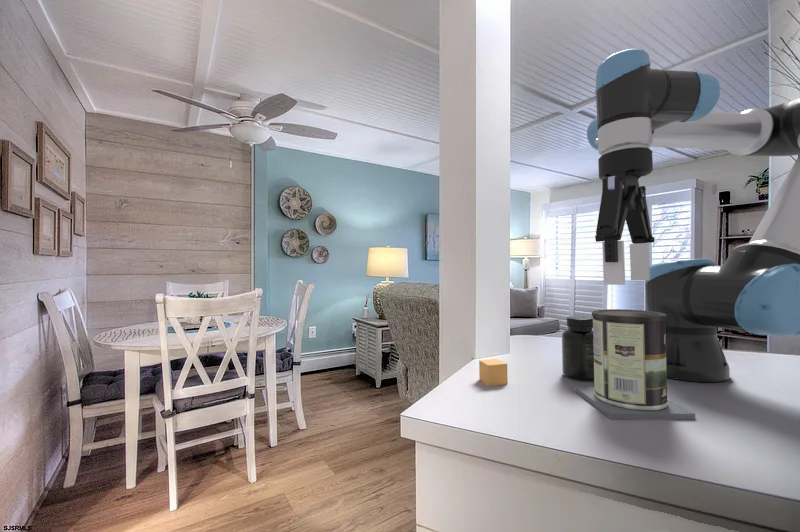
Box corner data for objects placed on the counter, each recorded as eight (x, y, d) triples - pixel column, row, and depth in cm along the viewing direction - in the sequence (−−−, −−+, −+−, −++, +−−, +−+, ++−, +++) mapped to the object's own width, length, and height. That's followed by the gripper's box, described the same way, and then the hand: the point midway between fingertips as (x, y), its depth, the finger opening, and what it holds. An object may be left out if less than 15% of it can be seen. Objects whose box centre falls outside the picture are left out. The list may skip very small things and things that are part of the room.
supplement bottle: (597, 373, 76) (596, 316, 76) (602, 383, 70) (600, 320, 70) (562, 370, 79) (561, 315, 79) (563, 379, 73) (561, 319, 73)
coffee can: (649, 390, 63) (647, 308, 63) (682, 413, 53) (680, 317, 53) (585, 387, 65) (583, 308, 65) (605, 409, 55) (603, 316, 55)
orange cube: (497, 378, 74) (497, 358, 74) (507, 384, 71) (507, 363, 71) (479, 380, 74) (479, 360, 74) (488, 386, 70) (488, 365, 70)
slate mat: (643, 391, 65) (643, 386, 65) (695, 419, 53) (695, 413, 53) (575, 391, 66) (575, 387, 66) (611, 419, 54) (611, 413, 54)
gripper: (622, 169, 71) (626, 278, 71) (568, 142, 54) (573, 286, 54) (670, 160, 65) (673, 279, 65) (626, 127, 48) (631, 287, 48)
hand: (628, 282), depth 59 cm, fingers open, 13 cm apart
